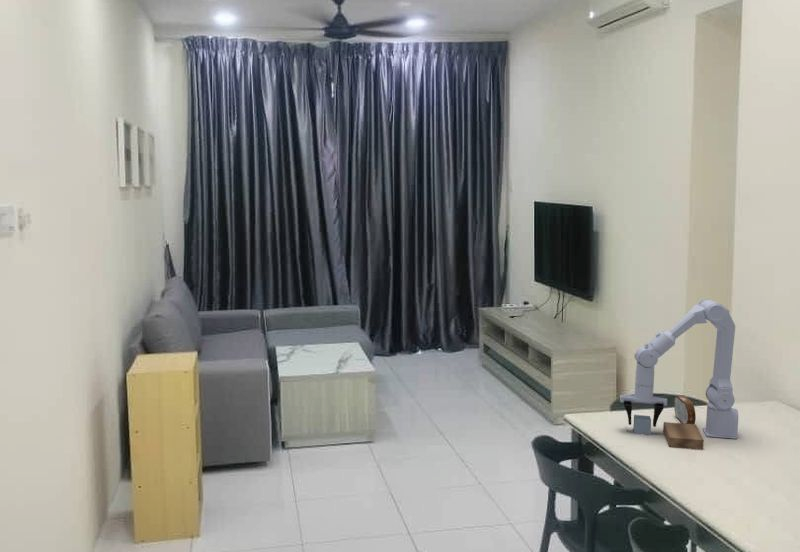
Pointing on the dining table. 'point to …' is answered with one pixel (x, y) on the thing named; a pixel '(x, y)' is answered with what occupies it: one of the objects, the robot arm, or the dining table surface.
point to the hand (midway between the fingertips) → (642, 424)
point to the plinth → (683, 435)
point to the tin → (684, 410)
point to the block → (642, 425)
